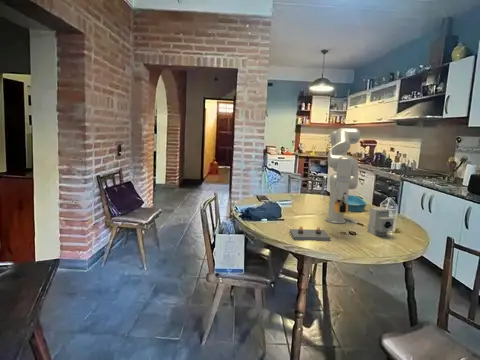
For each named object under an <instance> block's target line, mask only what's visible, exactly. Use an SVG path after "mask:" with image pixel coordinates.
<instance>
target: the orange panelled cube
mask: <svg viewBox="0 0 480 360" xmlns="http://www.w3.org/2000/svg"><path fill="white" fill-rule="evenodd" d="M340 205H341V202H334V211H335V212H336V213H343V212H340ZM348 212H349V211H348V204H347V203H346V212H345V213H344V214H348Z"/></svg>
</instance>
